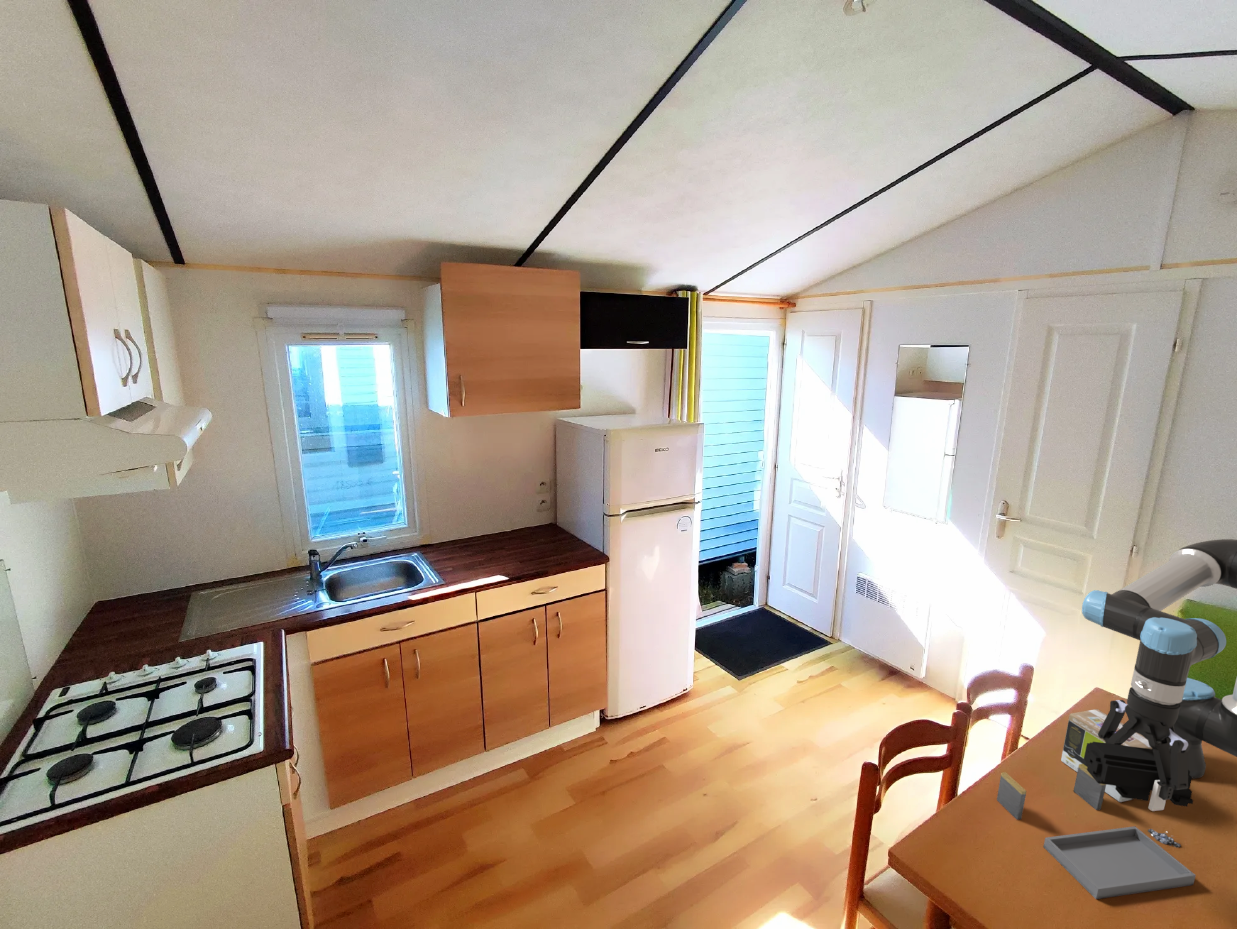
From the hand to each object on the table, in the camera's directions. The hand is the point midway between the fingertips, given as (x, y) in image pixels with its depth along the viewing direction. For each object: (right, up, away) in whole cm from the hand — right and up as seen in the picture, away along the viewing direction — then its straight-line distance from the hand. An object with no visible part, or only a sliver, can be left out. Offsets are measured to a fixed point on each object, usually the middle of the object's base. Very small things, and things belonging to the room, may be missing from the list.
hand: (1132, 791), depth 117 cm
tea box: (+18, -13, +29) cm, 37 cm away
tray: (0, -18, +4) cm, 19 cm away
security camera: (+1, -1, 0) cm, 1 cm away
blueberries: (+17, -18, +11) cm, 27 cm away
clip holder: (-2, -15, +20) cm, 25 cm away
